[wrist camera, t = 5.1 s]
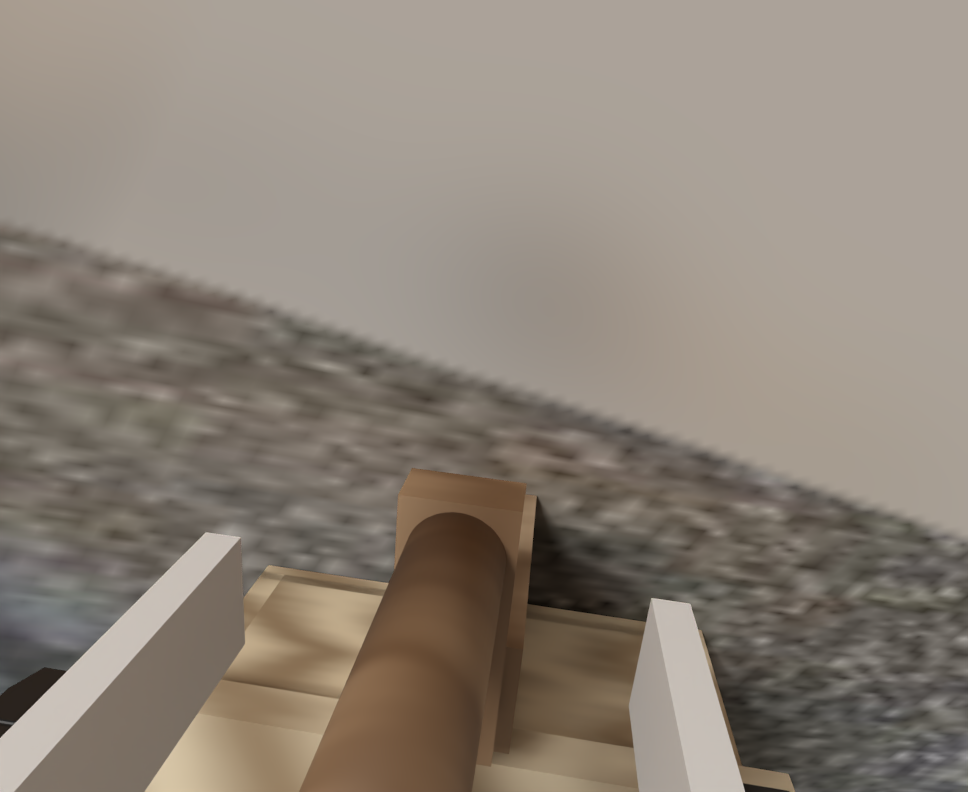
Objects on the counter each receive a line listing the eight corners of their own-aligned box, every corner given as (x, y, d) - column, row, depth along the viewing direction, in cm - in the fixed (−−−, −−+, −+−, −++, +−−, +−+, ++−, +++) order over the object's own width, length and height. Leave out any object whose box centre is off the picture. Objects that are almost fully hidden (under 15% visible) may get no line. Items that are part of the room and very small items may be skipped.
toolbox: (273, 757, 34) (170, 962, 25) (265, 458, 29) (130, 588, 20) (653, 824, 33) (686, 1067, 24) (728, 522, 27) (809, 694, 18)
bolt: (398, 707, 20) (192, 1365, 9) (412, 468, 17) (141, 988, 6) (496, 723, 19) (409, 1420, 9) (526, 483, 17) (456, 1055, 6)
